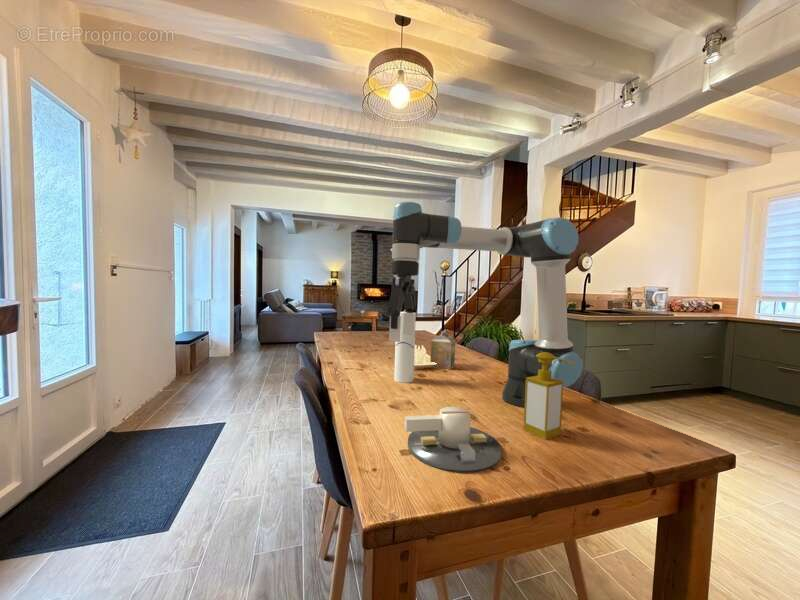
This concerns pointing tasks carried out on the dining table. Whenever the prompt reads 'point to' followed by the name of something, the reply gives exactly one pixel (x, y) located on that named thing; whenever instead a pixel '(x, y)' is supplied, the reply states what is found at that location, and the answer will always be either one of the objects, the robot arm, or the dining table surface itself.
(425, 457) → the post base
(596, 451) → the dining table surface
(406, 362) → the container
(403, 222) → the robot arm
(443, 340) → the milk carton
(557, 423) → the soap bottle
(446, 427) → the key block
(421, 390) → the dining table surface
